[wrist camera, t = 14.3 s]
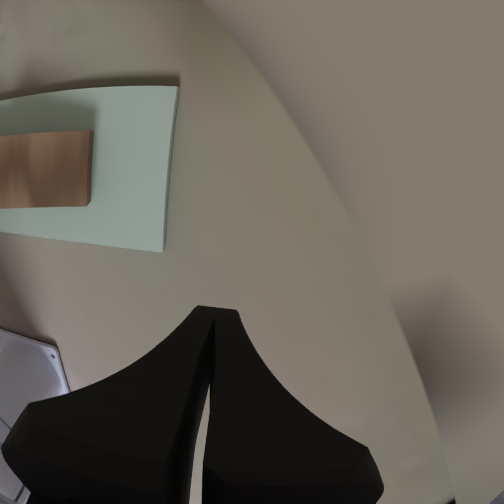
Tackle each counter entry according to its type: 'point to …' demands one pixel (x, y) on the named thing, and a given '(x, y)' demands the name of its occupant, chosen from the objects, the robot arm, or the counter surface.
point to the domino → (46, 169)
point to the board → (103, 163)
